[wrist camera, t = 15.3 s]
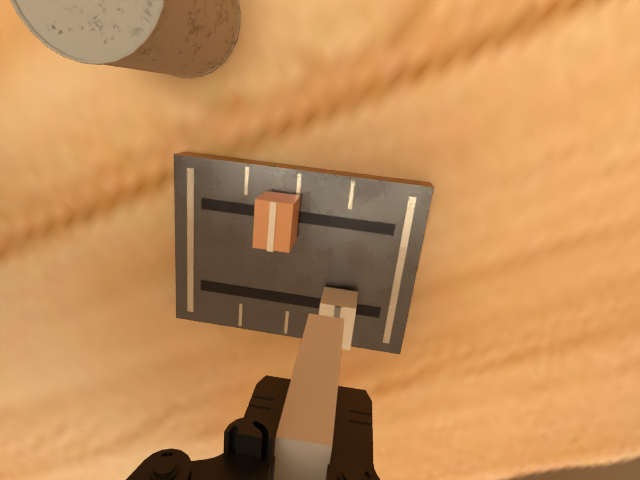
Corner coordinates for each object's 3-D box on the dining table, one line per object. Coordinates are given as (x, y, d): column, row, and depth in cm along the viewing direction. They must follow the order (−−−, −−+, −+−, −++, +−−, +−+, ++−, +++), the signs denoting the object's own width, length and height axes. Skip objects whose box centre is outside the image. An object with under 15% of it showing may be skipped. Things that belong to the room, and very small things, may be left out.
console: (185, 308, 42) (175, 318, 40) (184, 151, 36) (173, 154, 34) (398, 342, 40) (400, 354, 38) (430, 182, 35) (433, 187, 33)
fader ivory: (319, 325, 37) (314, 346, 34) (324, 286, 36) (319, 304, 33) (351, 330, 37) (349, 352, 34) (357, 291, 36) (356, 310, 33)
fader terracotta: (262, 235, 35) (251, 248, 32) (265, 190, 34) (253, 199, 31) (296, 240, 35) (288, 254, 32) (300, 195, 34) (292, 205, 30)
